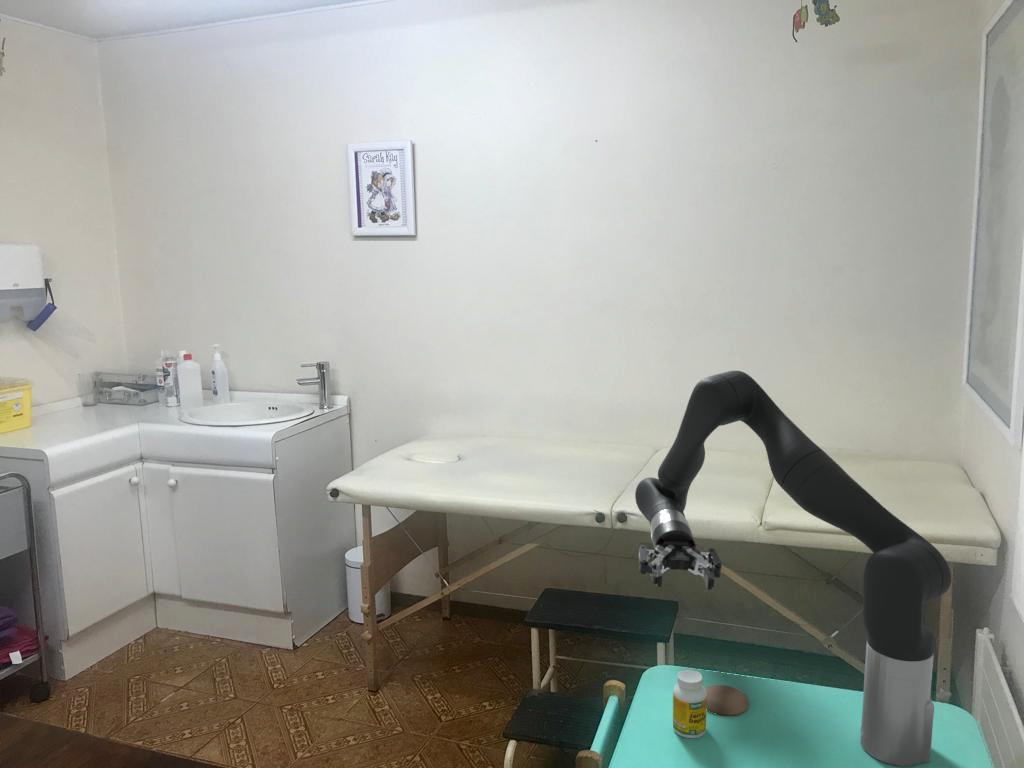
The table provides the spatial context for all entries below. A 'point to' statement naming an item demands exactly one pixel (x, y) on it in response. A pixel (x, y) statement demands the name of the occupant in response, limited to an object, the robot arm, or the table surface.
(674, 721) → the supplement bottle
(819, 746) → the table surface
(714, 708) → the walnut coaster
